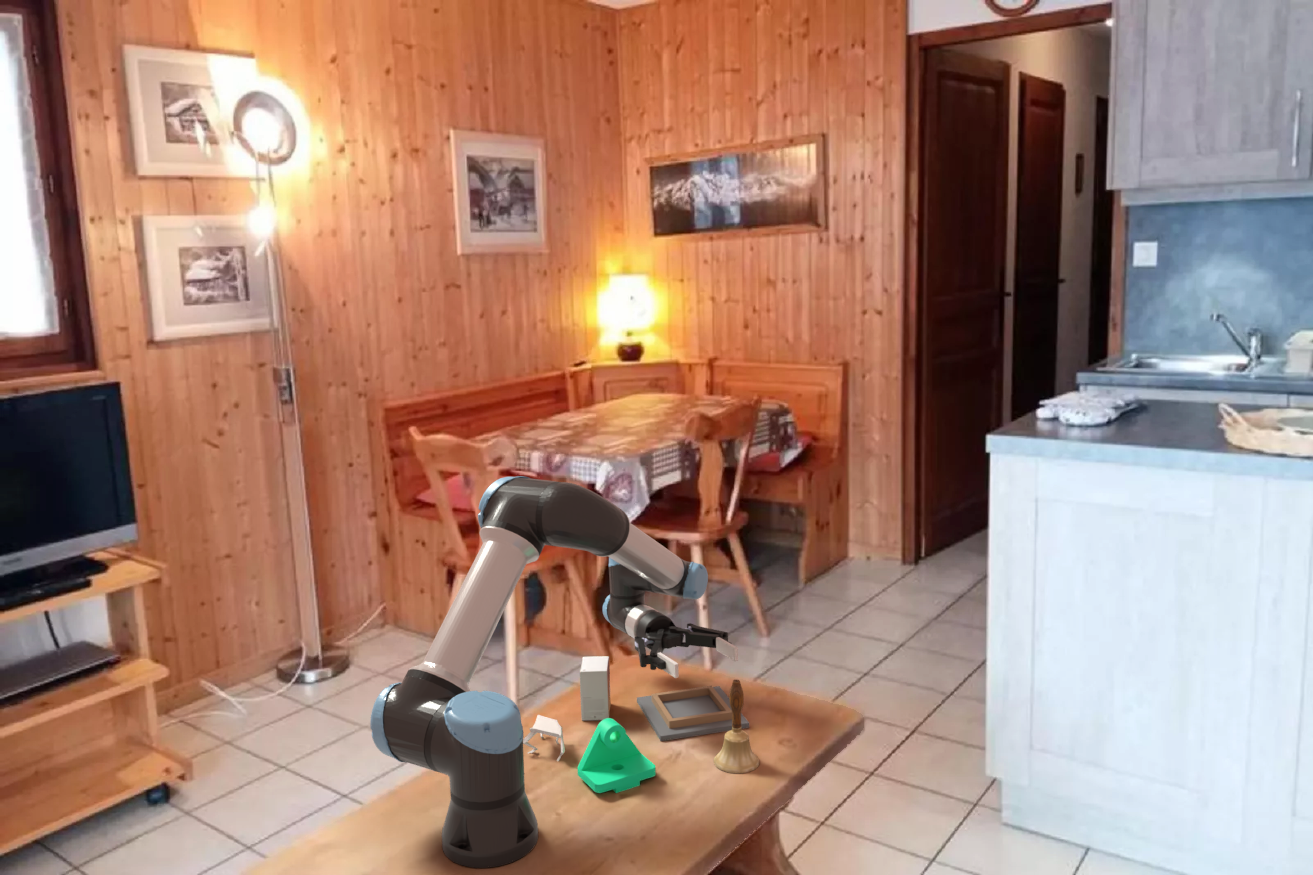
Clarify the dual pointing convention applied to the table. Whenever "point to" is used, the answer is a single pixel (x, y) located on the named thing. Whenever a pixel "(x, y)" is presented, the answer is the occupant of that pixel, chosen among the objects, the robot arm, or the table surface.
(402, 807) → the table surface
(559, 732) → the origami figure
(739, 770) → the hand bell
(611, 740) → the camera mount
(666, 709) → the bell board
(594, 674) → the small box
